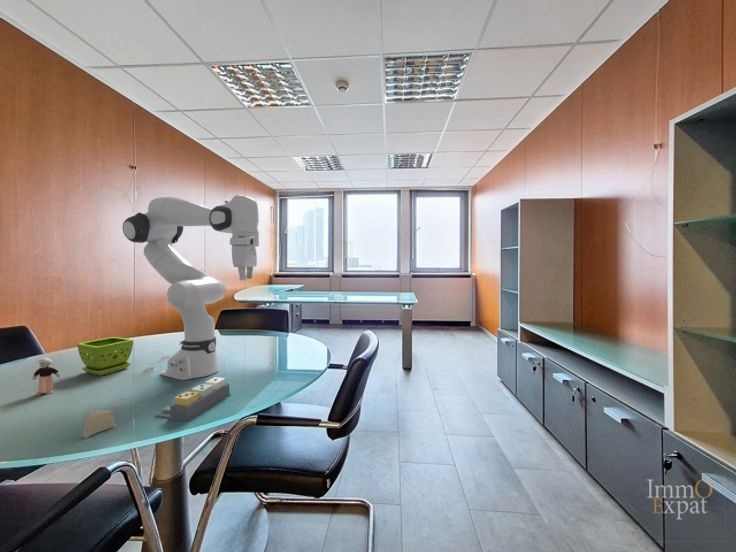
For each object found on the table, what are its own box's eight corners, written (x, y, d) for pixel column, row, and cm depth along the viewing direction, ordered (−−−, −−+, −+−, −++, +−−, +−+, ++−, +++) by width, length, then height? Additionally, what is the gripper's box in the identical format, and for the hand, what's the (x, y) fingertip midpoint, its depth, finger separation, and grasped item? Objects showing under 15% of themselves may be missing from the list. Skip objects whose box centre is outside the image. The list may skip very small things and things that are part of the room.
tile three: (174, 409, 90) (174, 396, 90) (186, 402, 94) (186, 390, 94) (187, 410, 89) (186, 398, 89) (198, 403, 93) (198, 392, 93)
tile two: (191, 400, 96) (190, 388, 96) (201, 394, 100) (201, 383, 100) (202, 401, 95) (202, 390, 95) (213, 395, 99) (212, 384, 99)
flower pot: (97, 379, 120) (95, 347, 119) (77, 374, 125) (75, 343, 124) (135, 367, 133) (134, 338, 132) (115, 363, 138) (114, 335, 137)
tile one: (205, 392, 102) (205, 381, 101) (215, 386, 106) (214, 376, 106) (216, 393, 101) (216, 382, 100) (225, 388, 105) (225, 377, 105)
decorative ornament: (80, 434, 82) (79, 414, 81) (118, 420, 89) (117, 402, 88) (84, 439, 79) (83, 419, 79) (123, 424, 86) (122, 406, 86)
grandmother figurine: (28, 397, 103) (26, 360, 103) (34, 393, 107) (32, 357, 106) (59, 393, 107) (57, 357, 106) (63, 388, 110) (62, 354, 110)
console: (155, 416, 91) (155, 403, 91) (201, 391, 108) (201, 380, 108) (188, 421, 88) (188, 407, 88) (230, 394, 105) (230, 383, 105)
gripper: (243, 242, 119) (244, 278, 120) (228, 239, 99) (228, 281, 100) (260, 243, 120) (260, 278, 121) (248, 239, 100) (248, 281, 101)
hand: (246, 279), depth 110 cm, fingers open, 8 cm apart
